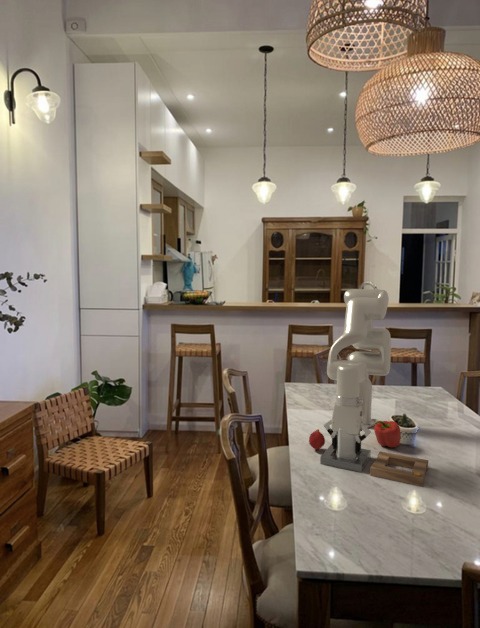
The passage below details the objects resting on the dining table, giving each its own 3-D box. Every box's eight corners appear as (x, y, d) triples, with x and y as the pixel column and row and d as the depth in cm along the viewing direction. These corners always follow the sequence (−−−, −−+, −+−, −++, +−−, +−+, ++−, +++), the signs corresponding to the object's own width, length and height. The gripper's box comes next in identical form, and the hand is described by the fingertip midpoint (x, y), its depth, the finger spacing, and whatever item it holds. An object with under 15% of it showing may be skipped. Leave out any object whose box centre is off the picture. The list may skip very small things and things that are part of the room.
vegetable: (381, 452, 165) (382, 425, 164) (366, 442, 175) (367, 417, 174) (407, 449, 168) (408, 423, 167) (391, 439, 178) (391, 414, 177)
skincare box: (352, 457, 160) (353, 425, 159) (356, 462, 156) (357, 429, 155) (335, 457, 160) (336, 425, 159) (338, 463, 156) (339, 429, 155)
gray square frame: (332, 449, 167) (332, 443, 167) (370, 457, 161) (370, 450, 161) (320, 463, 155) (320, 456, 155) (361, 472, 149) (361, 465, 148)
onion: (312, 453, 164) (313, 432, 163) (306, 447, 169) (306, 427, 168) (327, 452, 165) (327, 431, 164) (320, 446, 171) (320, 425, 170)
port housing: (379, 458, 160) (379, 450, 160) (428, 467, 153) (428, 459, 152) (370, 475, 147) (370, 466, 146) (422, 486, 139) (423, 477, 139)
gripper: (375, 401, 155) (373, 451, 157) (326, 394, 163) (325, 442, 165) (370, 407, 149) (369, 459, 150) (319, 399, 157) (318, 449, 158)
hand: (346, 449), depth 158 cm, fingers closed on skincare box, 7 cm apart
